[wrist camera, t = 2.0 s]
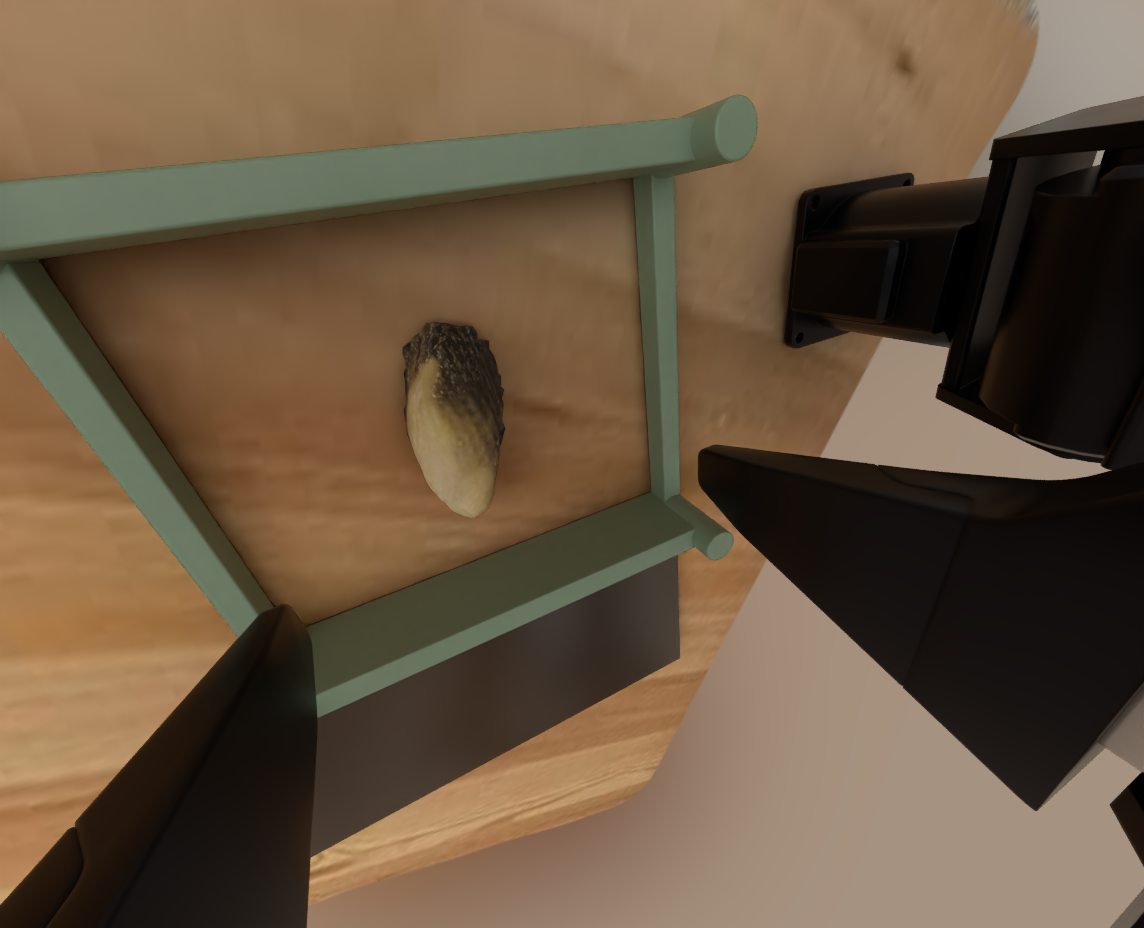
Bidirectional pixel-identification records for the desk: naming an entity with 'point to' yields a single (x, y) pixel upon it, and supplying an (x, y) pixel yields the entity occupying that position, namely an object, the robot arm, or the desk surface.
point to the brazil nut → (454, 414)
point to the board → (488, 701)
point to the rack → (348, 188)
